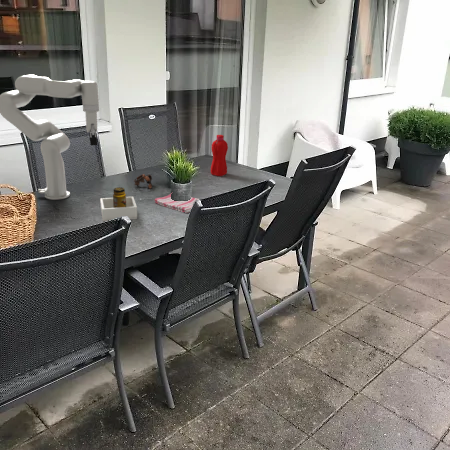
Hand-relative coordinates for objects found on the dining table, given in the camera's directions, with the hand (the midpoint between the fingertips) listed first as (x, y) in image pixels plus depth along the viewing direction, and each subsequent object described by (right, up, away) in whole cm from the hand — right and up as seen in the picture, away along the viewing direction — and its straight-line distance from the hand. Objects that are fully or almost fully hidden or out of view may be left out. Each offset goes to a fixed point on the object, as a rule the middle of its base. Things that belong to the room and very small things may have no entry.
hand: (93, 142), depth 234 cm
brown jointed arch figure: (+19, -19, +35) cm, 45 cm away
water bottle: (+61, -10, +62) cm, 87 cm away
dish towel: (+43, -31, +12) cm, 54 cm away
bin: (+14, -36, -5) cm, 39 cm away
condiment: (+14, -35, -5) cm, 38 cm away
